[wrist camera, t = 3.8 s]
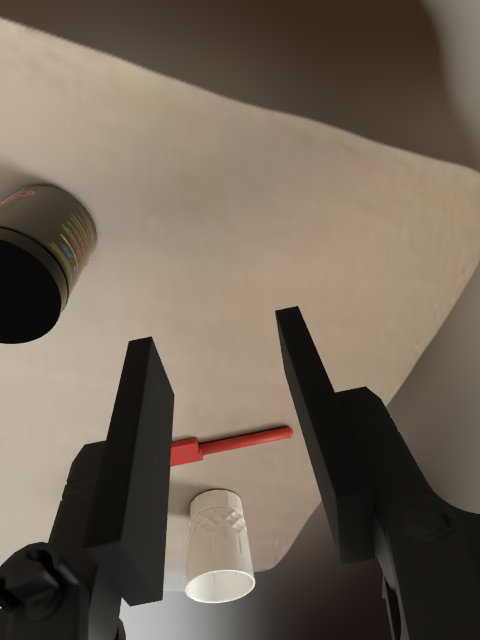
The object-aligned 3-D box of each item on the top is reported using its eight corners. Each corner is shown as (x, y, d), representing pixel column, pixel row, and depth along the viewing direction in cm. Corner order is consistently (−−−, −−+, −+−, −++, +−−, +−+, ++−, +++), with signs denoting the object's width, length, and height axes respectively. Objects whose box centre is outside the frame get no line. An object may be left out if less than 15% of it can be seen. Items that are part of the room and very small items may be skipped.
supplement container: (58, 164, 27) (-4, 211, 19) (117, 243, 31) (87, 313, 22) (-17, 209, 29) (-107, 273, 20) (48, 280, 32) (-5, 361, 24)
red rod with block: (290, 418, 44) (292, 426, 43) (293, 436, 46) (295, 444, 45) (158, 444, 45) (158, 453, 44) (166, 461, 46) (166, 470, 45)
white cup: (244, 517, 55) (253, 599, 46) (187, 522, 54) (186, 606, 46) (246, 483, 50) (256, 567, 42) (184, 488, 50) (182, 574, 41)
